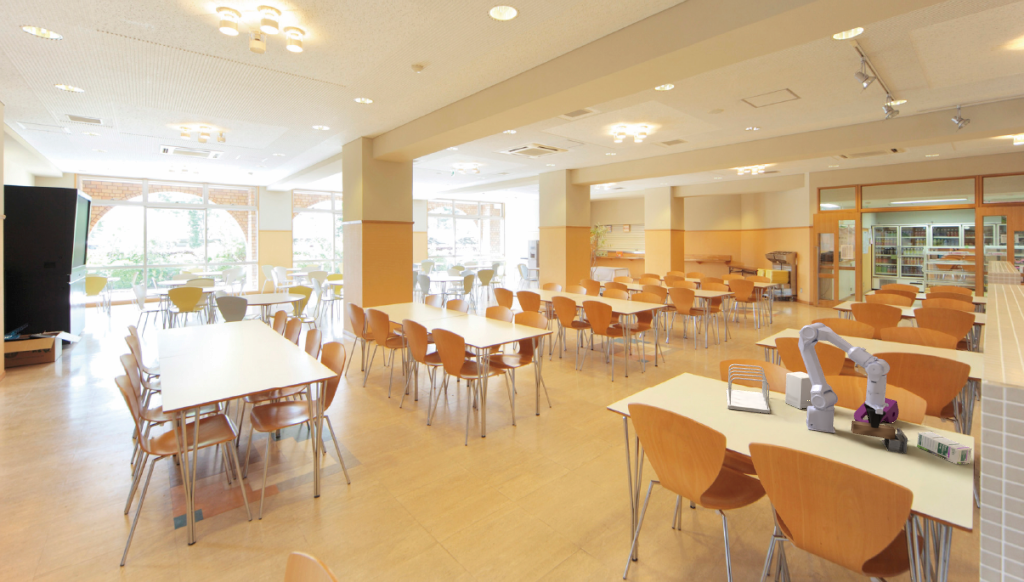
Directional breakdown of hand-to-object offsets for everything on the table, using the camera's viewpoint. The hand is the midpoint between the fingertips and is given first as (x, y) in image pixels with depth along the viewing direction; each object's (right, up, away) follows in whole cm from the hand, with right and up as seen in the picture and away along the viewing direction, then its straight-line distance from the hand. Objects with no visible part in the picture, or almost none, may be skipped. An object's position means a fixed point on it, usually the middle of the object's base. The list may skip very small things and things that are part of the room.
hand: (873, 425), depth 180 cm
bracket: (+6, -8, -2) cm, 10 cm away
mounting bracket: (+17, -5, +22) cm, 28 cm away
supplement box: (-3, -3, +41) cm, 42 cm away
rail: (0, -4, +1) cm, 4 cm away
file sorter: (-25, -3, +47) cm, 53 cm away
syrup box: (+17, -4, -2) cm, 18 cm away
